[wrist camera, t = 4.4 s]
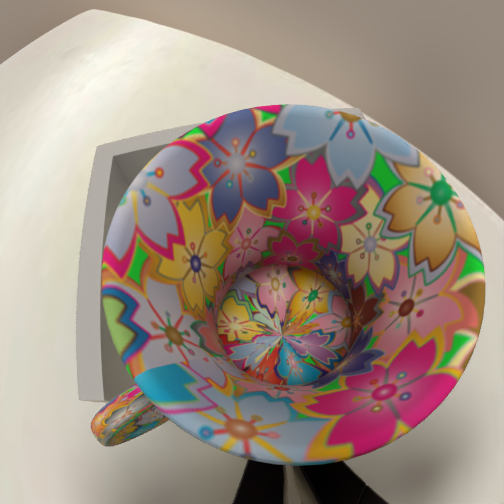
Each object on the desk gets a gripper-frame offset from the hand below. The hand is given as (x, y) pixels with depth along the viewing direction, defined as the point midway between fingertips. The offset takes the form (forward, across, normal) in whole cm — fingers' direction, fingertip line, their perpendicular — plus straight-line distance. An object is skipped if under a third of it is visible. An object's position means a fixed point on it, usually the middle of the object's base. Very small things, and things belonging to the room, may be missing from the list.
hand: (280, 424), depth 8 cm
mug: (+7, 0, +3) cm, 8 cm away
